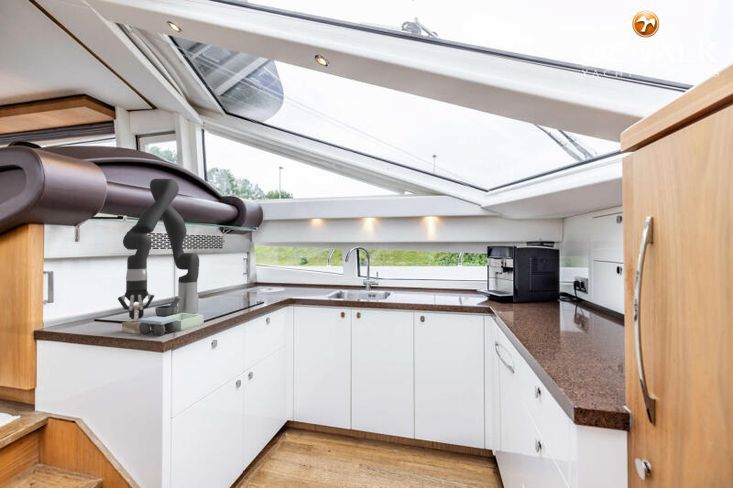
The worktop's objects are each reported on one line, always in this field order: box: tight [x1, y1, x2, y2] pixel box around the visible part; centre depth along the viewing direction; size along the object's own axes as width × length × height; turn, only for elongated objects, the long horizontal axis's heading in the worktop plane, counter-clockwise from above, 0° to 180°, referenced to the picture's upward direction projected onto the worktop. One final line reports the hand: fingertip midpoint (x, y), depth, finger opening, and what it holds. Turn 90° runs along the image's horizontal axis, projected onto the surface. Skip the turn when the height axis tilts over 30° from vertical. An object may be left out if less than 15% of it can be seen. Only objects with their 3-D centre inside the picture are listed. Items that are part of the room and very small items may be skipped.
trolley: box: [139, 315, 176, 336], centre depth 139 cm, size 13×7×6 cm, turn 74°
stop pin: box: [132, 306, 141, 323], centre depth 143 cm, size 2×2×10 cm
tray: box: [163, 313, 205, 332], centre depth 150 cm, size 13×13×4 cm
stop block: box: [121, 319, 150, 334], centre depth 142 cm, size 7×7×4 cm
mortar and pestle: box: [154, 295, 181, 317], centre depth 162 cm, size 11×9×12 cm
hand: (136, 318), depth 143 cm, fingers closed on stop pin, 2 cm apart
